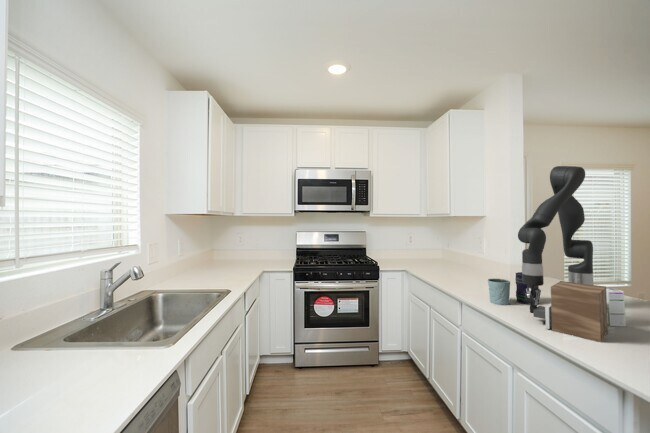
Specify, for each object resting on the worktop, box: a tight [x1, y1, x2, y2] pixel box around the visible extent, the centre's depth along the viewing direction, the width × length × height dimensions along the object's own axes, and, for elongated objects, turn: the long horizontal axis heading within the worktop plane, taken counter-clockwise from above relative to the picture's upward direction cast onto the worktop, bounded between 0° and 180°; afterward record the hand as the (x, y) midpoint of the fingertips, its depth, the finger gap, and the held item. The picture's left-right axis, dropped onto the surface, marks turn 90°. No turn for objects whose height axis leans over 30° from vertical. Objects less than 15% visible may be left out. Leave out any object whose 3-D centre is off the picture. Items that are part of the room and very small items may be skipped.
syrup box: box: [606, 287, 627, 327], centre depth 118 cm, size 6×6×14 cm
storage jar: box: [515, 271, 540, 306], centre depth 150 cm, size 10×10×15 cm
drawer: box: [532, 302, 552, 330], centre depth 115 cm, size 15×19×8 cm
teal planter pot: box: [487, 278, 511, 306], centre depth 150 cm, size 10×10×12 cm
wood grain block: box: [550, 280, 608, 343], centre depth 112 cm, size 15×14×18 cm
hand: (533, 312), depth 124 cm, fingers closed
